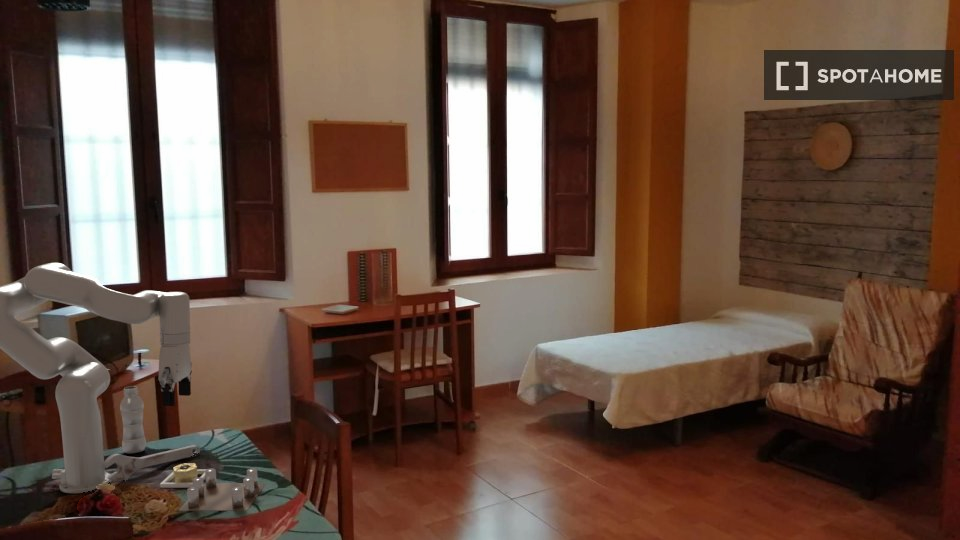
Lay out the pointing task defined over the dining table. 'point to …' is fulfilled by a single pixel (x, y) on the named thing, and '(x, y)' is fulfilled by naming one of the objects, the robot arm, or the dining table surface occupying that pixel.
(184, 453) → the wrench
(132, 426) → the plastic bottle
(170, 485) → the white square frame
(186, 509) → the board
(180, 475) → the nut
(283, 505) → the dining table surface
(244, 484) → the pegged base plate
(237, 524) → the dining table surface
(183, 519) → the dining table surface
